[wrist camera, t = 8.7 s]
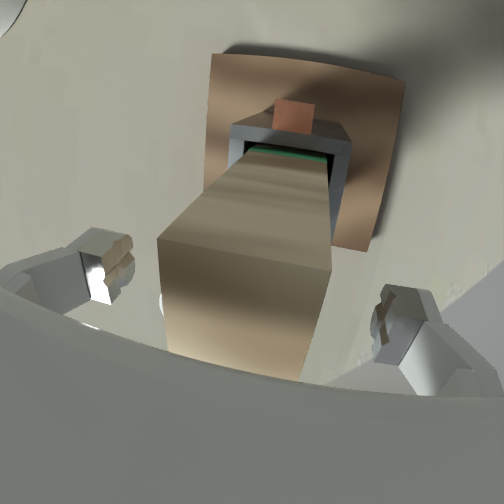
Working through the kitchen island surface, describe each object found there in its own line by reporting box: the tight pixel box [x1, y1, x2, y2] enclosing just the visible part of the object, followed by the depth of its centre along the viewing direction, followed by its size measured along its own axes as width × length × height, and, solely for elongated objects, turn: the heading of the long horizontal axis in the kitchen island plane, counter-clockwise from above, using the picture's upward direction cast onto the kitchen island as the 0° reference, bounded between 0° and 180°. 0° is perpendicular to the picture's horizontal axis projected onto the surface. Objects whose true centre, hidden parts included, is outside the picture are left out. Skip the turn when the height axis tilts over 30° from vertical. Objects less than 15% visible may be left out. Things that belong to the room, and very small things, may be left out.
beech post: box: [157, 142, 332, 381], centre depth 14 cm, size 4×4×15 cm
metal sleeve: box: [227, 99, 353, 244], centre depth 21 cm, size 8×6×10 cm
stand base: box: [203, 54, 405, 252], centre depth 26 cm, size 16×16×2 cm
